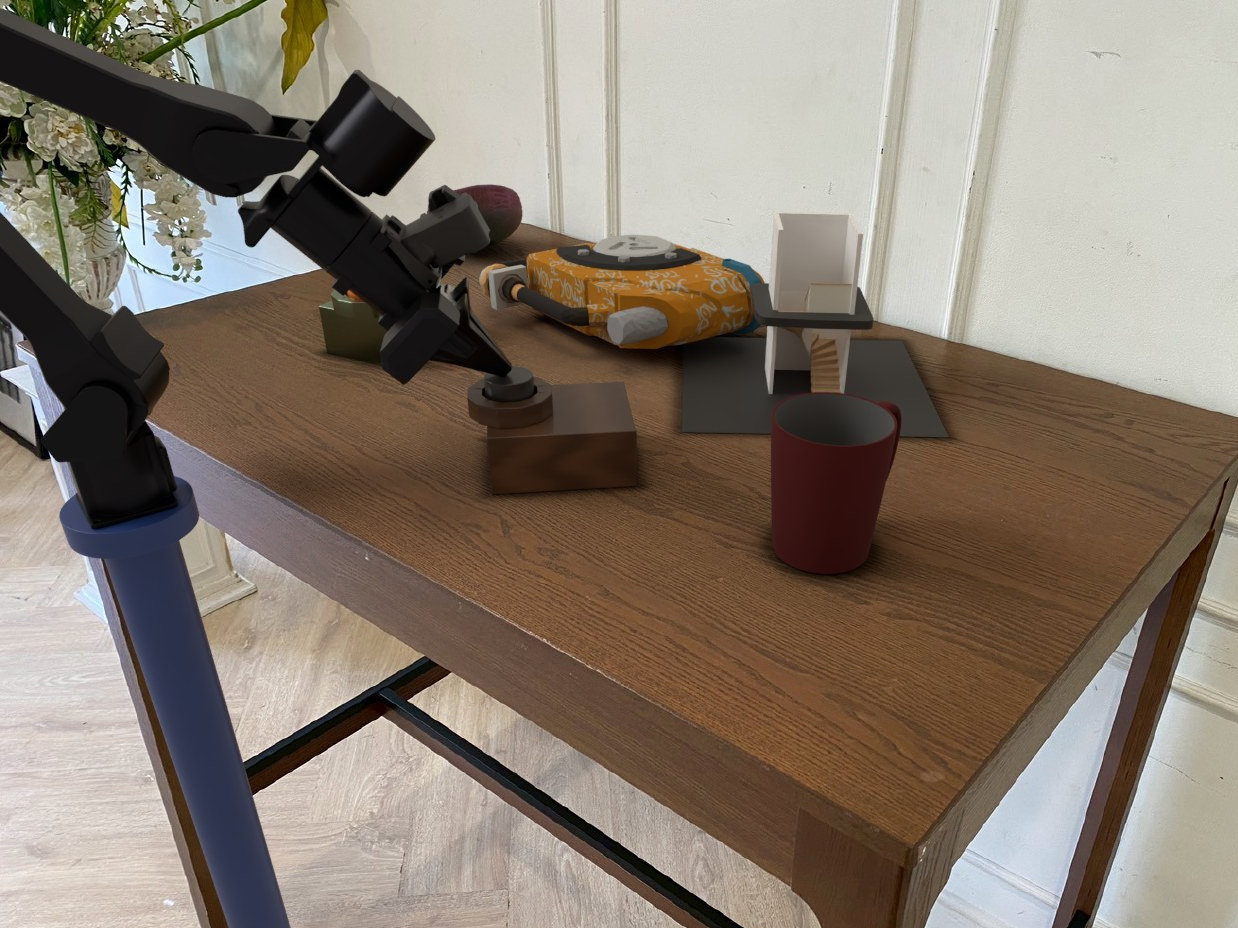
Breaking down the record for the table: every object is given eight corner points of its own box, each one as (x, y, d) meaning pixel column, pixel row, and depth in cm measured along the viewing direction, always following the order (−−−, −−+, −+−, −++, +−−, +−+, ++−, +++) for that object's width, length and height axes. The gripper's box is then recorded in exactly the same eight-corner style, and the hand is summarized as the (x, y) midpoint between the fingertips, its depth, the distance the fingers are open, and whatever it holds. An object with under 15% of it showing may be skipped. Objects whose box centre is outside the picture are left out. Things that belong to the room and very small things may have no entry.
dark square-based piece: (681, 432, 94) (685, 257, 85) (683, 336, 115) (685, 188, 106) (949, 437, 94) (979, 264, 86) (902, 341, 115) (922, 194, 106)
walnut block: (473, 495, 83) (465, 418, 79) (475, 440, 91) (468, 368, 88) (636, 486, 85) (636, 410, 81) (624, 433, 93) (623, 362, 90)
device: (607, 307, 96) (459, 241, 116) (611, 387, 100) (467, 310, 120) (781, 265, 108) (620, 212, 128) (778, 339, 113) (622, 276, 133)
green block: (394, 375, 103) (384, 309, 99) (317, 357, 106) (305, 293, 103) (470, 332, 114) (465, 271, 110) (398, 318, 117) (390, 258, 113)
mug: (840, 494, 85) (855, 372, 79) (926, 538, 79) (949, 410, 73) (738, 544, 78) (746, 413, 72) (825, 595, 72) (840, 459, 66)
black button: (485, 409, 82) (483, 386, 81) (486, 389, 86) (484, 366, 85) (535, 407, 83) (533, 383, 82) (533, 387, 86) (532, 364, 85)
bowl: (542, 227, 133) (531, 169, 134) (446, 224, 126) (436, 164, 127) (503, 272, 147) (493, 220, 147) (415, 272, 140) (406, 217, 141)
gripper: (408, 192, 66) (583, 346, 73) (425, 135, 81) (568, 266, 89) (303, 312, 69) (482, 448, 76) (339, 235, 84) (484, 354, 92)
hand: (508, 371), depth 83 cm, fingers closed, pressing on black button
